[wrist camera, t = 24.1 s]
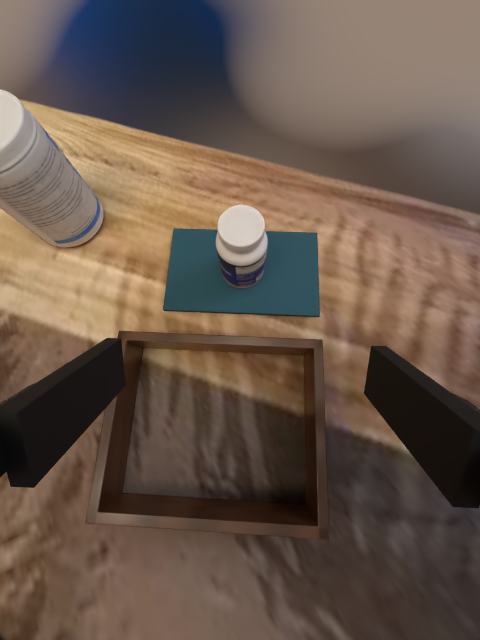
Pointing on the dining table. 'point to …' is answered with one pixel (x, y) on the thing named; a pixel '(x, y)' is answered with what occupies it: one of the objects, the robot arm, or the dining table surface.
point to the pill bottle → (241, 245)
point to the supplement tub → (42, 181)
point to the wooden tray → (204, 512)
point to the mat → (262, 298)
